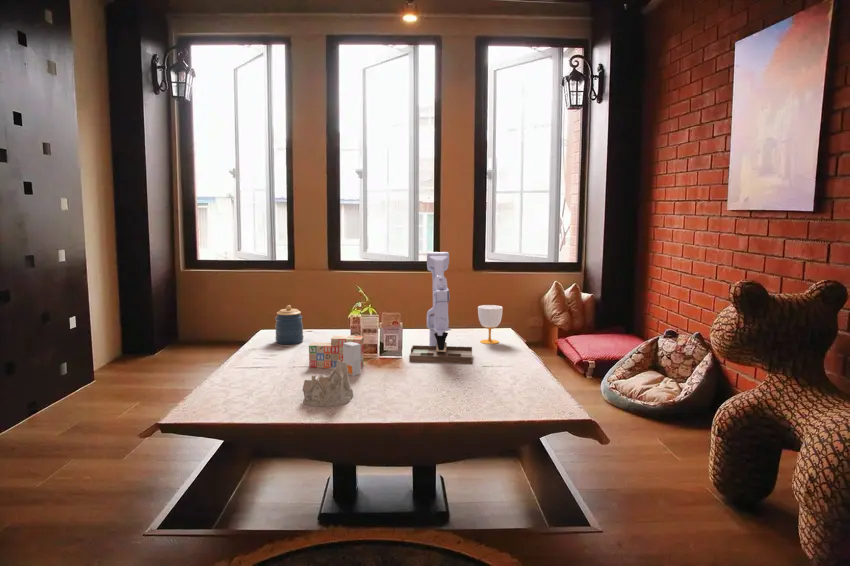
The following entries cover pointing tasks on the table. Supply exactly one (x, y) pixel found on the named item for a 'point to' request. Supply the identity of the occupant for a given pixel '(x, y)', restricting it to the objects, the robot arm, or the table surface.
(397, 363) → the table surface
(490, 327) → the cup
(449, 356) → the trap box
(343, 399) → the ceramic cottage
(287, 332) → the canister
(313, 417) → the table surface
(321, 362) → the stack of blocks
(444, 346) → the maple block
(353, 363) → the skincare box
